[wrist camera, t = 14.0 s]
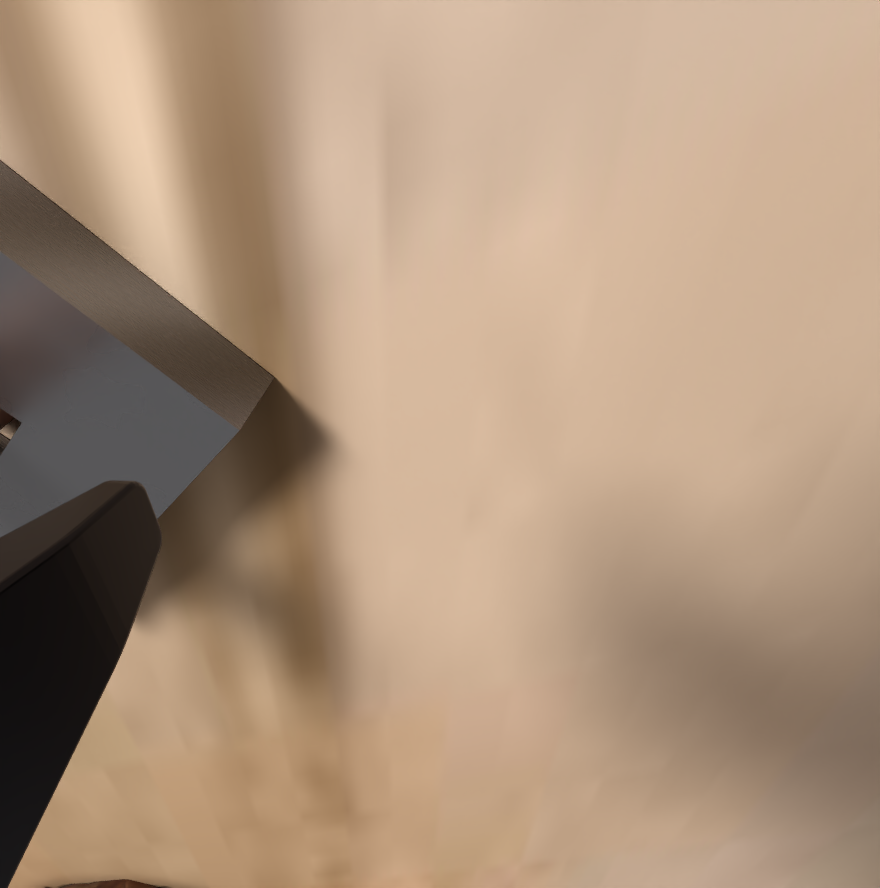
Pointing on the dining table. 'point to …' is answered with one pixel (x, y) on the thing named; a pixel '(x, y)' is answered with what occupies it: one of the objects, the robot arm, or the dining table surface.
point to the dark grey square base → (102, 368)
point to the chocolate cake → (112, 884)
